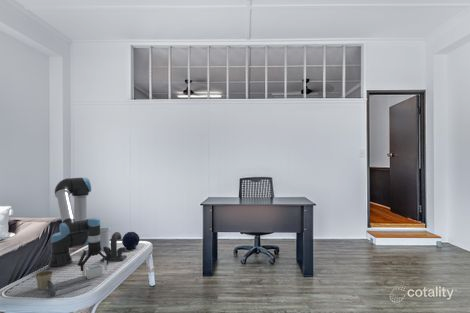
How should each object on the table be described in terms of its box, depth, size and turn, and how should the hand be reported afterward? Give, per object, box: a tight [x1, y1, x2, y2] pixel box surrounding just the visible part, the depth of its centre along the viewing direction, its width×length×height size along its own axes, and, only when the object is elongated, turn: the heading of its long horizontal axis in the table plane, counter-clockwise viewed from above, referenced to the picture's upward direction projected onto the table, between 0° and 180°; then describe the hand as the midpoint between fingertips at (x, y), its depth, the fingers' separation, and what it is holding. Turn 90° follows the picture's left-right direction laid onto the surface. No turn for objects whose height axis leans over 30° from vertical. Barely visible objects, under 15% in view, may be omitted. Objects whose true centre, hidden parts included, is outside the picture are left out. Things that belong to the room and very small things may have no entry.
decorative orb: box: [121, 231, 140, 250], centre depth 256 cm, size 14×15×15 cm
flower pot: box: [34, 270, 54, 291], centre depth 179 cm, size 9×9×9 cm
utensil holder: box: [100, 226, 111, 252], centre depth 256 cm, size 15×15×18 cm
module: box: [85, 264, 104, 280], centre depth 196 cm, size 6×9×6 cm, turn 130°
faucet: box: [100, 231, 128, 262], centre depth 232 cm, size 18×16×20 cm
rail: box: [47, 275, 93, 297], centre depth 179 cm, size 13×21×5 cm, turn 134°
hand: (94, 273), depth 196 cm, fingers open, 13 cm apart
